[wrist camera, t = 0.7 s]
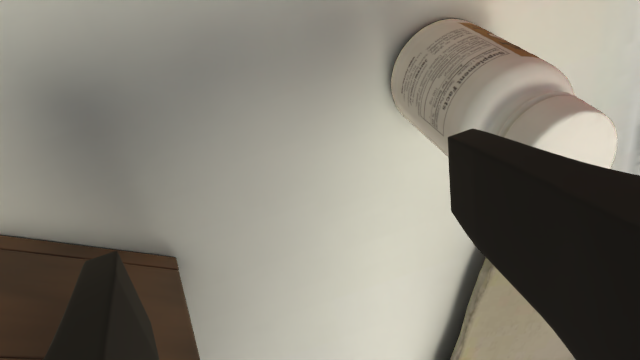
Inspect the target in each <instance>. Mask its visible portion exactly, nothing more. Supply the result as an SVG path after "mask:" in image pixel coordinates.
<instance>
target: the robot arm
mask: <svg viewBox="0 0 640 360" xmlns="http://www.w3.org/2000/svg"><path fill="white" fill-rule="evenodd" d="M448 155H449V175H450V194H451V211H452V213H453V214H454V216H455V217H456V219H457V220H458V222H459V223H460V225H461V226H462V228H463V229H464V231H465V232H466V234H467V235H468V236H469V238H470V239H471V240H472V242H473V243H474V245H475V246H476V247H477V248H478V249H479V250H480V251H481V253H482V254H483V255H484V256H485V257H486V258H487V259H488V260H489V261H490V262H491V263H492V264H493V265H494V267H495V268H496V269H497V270H498V271H499V272H500V273H501V274H502V275H503V276H504V277H505V278H506V279H507V280H508V281H509V283H510V284H511V285H512V286H513V287H514V288H515V289H516V290H517V291H518V292H519V293H520V294H521V295H522V296H523V297H524V298H525V299H526V300H527V302H528V303H529V304H530V305H531V306H532V307H533V308H534V309H535V310H536V311H537V312H538V313H539V314H540V315H541V316H542V318H543V319H544V320H545V321H546V322H547V323H548V325H549V326H550V327H551V328H552V329H553V330H554V332H555V333H556V334H557V336H558V337H559V338H560V340H561V341H562V342H563V343H564V345H565V346H566V347H567V349H568V350H569V351H570V353H571V354H572V355H573V357H574V358H575V359H576V360H640V176H639V175H633V174H629V173H624V172H620V171H616V170H611V169H608V168H604V167H600V166H596V165H592V164H588V163H585V162H581V161H578V160H574V159H571V158H567V157H564V156H561V155H557V154H554V153H551V152H548V151H545V150H541V149H538V148H535V147H532V146H529V145H526V144H523V143H520V142H517V141H514V140H511V139H508V138H505V137H501V136H498V135H495V134H492V133H488V132H485V131H481V130H477V129H473V128H472V129H469V130H466V131H463V132H461V133H458V134H455V135H452V136H449V137H448ZM43 360H159V356H158V351H157V347H156V342H155V338H154V334H153V329H152V325H151V322H150V320H149V317H148V315H147V313H146V311H145V309H144V307H143V305H142V302H141V300H140V298H139V296H138V294H137V292H136V290H135V288H134V285H133V283H132V281H131V279H130V277H129V275H128V273H127V271H126V268H125V266H124V264H123V262H122V260H121V258H120V256H119V254H118V251H117V250H116V251H113V252H110V253H108V254H105V255H102V256H99V257H96V258H93V259H90V260H87V261H85V263H84V265H83V266H82V269H81V271H80V274H79V277H78V279H77V282H76V285H75V287H74V290H73V293H72V295H71V298H70V300H69V303H68V305H67V308H66V310H65V313H64V315H63V317H62V320H61V322H60V324H59V326H58V329H57V331H56V333H55V335H54V338H53V340H52V342H51V345H50V347H49V349H48V351H47V353H46V355H45V357H44V359H43Z"/></svg>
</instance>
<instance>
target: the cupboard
mask: <svg viewBox="0 0 640 360" xmlns="http://www.w3.org/2000/svg"><path fill="white" fill-rule="evenodd" d="M113 251H116V250H113V249H105V248H97V247H89V246H81V245H73V244H65V243H57V242H50V241H42V240H34V239H26V238H18V237H10V236H2V235H0V360H43V359H44V357H45V355H46V353H47V351H48V349H49V347H50V345H51V342H52V340H53V338H54V335H55V333H56V331H57V329H58V326H59V324H60V322H61V320H62V317H63V315H64V313H65V310H66V308H67V305H68V303H69V300H70V298H71V295H72V293H73V290H74V287H75V285H76V282H77V279H78V277H79V274H80V271H81V269H82V266H83V265H84V263H85V261H87V260H90V259H93V258H96V257H99V256H102V255H105V254H108V253H110V252H113ZM117 251H118V254H119V256H120V258H121V260H122V262H123V264H124V266H125V268H126V271H127V273H128V275H129V277H130V279H131V281H132V283H133V285H134V288H135V290H136V292H137V294H138V296H139V298H140V300H141V302H142V305H143V307H144V309H145V311H146V313H147V315H148V317H149V320H150V322H151V325H152V329H153V334H154V338H155V342H156V347H157V351H158V356H159V360H200V357H199V353H198V349H197V345H196V341H195V336H194V332H193V328H192V324H191V320H190V316H189V311H188V307H187V303H186V299H185V295H184V291H183V286H182V282H181V278H180V274H179V271H178V270H179V268H178V264H177V260H176V258H175V257H168V256H160V255H152V254H144V253H136V252H128V251H121V250H117Z"/></svg>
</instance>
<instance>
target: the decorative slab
mask: <svg viewBox="0 0 640 360" xmlns="http://www.w3.org/2000/svg"><path fill="white" fill-rule="evenodd" d="M450 360H576V359H575V358H574V357H573V355H572V354H571V353H570V351H569V350H568V349H567V347H566V346H565V345H564V343H563V342H562V341H561V340H560V338H559V337H558V336H557V334H556V333H555V332H554V330H553V329H552V328H551V327H550V326H549V325H548V323H547V322H546V321H545V320H544V319H543V318H542V316H541V315H540V314H539V313H538V312H537V311H536V310H535V309H534V308H533V307H532V306H531V305H530V304H529V303H528V302H527V300H526V299H525V298H524V297H523V296H522V295H521V294H520V293H519V292H518V291H517V290H516V289H515V288H514V287H513V286H512V285H511V284H510V283H509V281H508V280H507V279H506V278H505V277H504V276H503V275H502V274H501V273H500V272H499V271H498V270H497V269H496V268H495V267H494V265H493V264H492V263H491V262H490V261H489V260H488V259H487V258H485V261H484V263H483V266H482V269H481V271H480V272H479V276H478V279H477V282H476V285H475V287H474V290H473V292H472V295H471V298H470V301H469V303H468V306H467V310H466V314H465V318H464V321H463V325H462V328H461V332H460V335H459V338H458V340H457V343H456V346H455V348H454V351H453V354H452V356H451V359H450Z"/></svg>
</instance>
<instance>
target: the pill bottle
mask: <svg viewBox="0 0 640 360" xmlns="http://www.w3.org/2000/svg"><path fill="white" fill-rule="evenodd" d="M391 90H392V96H393V100H394V102H395V105H396V107H397V108H398V110H399V111H400V113H401V114H402V115H403V116H404V117H405V118H406V119H407V120H408V121H409V122H410V123H411V124H412V125H414V126H415V127H416V128H417V129H418V130H419V131H420V132H421V133H422V134H423V135H425V136H426V137H427V138H428V139H429V140H430V141H431V142H432V143H433V144H435V145H436V146H437V147H438V148H439V149H440V150H441V151H442V152H443V153H444V154H446V155H447V156H448V157H449V155H448V137H449V136H452V135H455V134H458V133H461V132H463V131H466V130H469V129H472V128H473V129H477V130H481V131H485V132H488V133H492V134H495V135H498V136H501V137H505V138H508V139H511V140H514V141H517V142H520V143H523V144H526V145H529V146H532V147H535V148H538V149H541V150H545V151H548V152H551V153H554V154H557V155H561V156H564V157H567V158H571V159H574V160H578V161H581V162H585V163H588V164H592V165H596V166H600V167H604V168H608V169H610V167H611V165H612V163H613V160H614V158H615V154H616V149H617V133H616V129H615V126H614V124H613V122H612V121H611V120H610V119H609V118H608V117H607V116H606V115H605V114H603V113H602V112H600V111H599V110H597V109H596V108H594V107H592V106H591V105H589V104H587V103H586V102H584V101H583V100H581V99H579V98H577V97H576V96H574V92H573V89H572V86H571V84H570V82H569V80H568V79H567V78H566V76H565V75H564V74H563V73H562V72H561V71H560V70H559V69H557V68H556V67H554V66H553V65H551V64H549V63H548V62H546V61H544V60H542V59H540V58H539V57H537V56H535V55H533V54H531V53H528V52H527V51H525V50H523V49H521V48H520V47H518V46H516V45H513V44H511V43H509V42H507V41H506V40H504V39H502V38H500V37H498V36H496V35H494V34H492V33H490V32H489V31H487V30H485V29H483V28H481V27H479V26H477V25H475V24H473V23H471V22H468V21H465V20H460V19H446V20H440V21H437V22H435V23H432V24H430V25H428V26H426V27H424V28H423V29H421V30H420V31H419V32H417V33H416V34H415V35H414V36H413V37H412V38H411V39H410V40H409V41H408V43H407V44H406V45H405V46H404V48H403V49H402V50H401V52H400V54H399V56H398V58H397V60H396V62H395V65H394V69H393V73H392V78H391Z"/></svg>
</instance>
